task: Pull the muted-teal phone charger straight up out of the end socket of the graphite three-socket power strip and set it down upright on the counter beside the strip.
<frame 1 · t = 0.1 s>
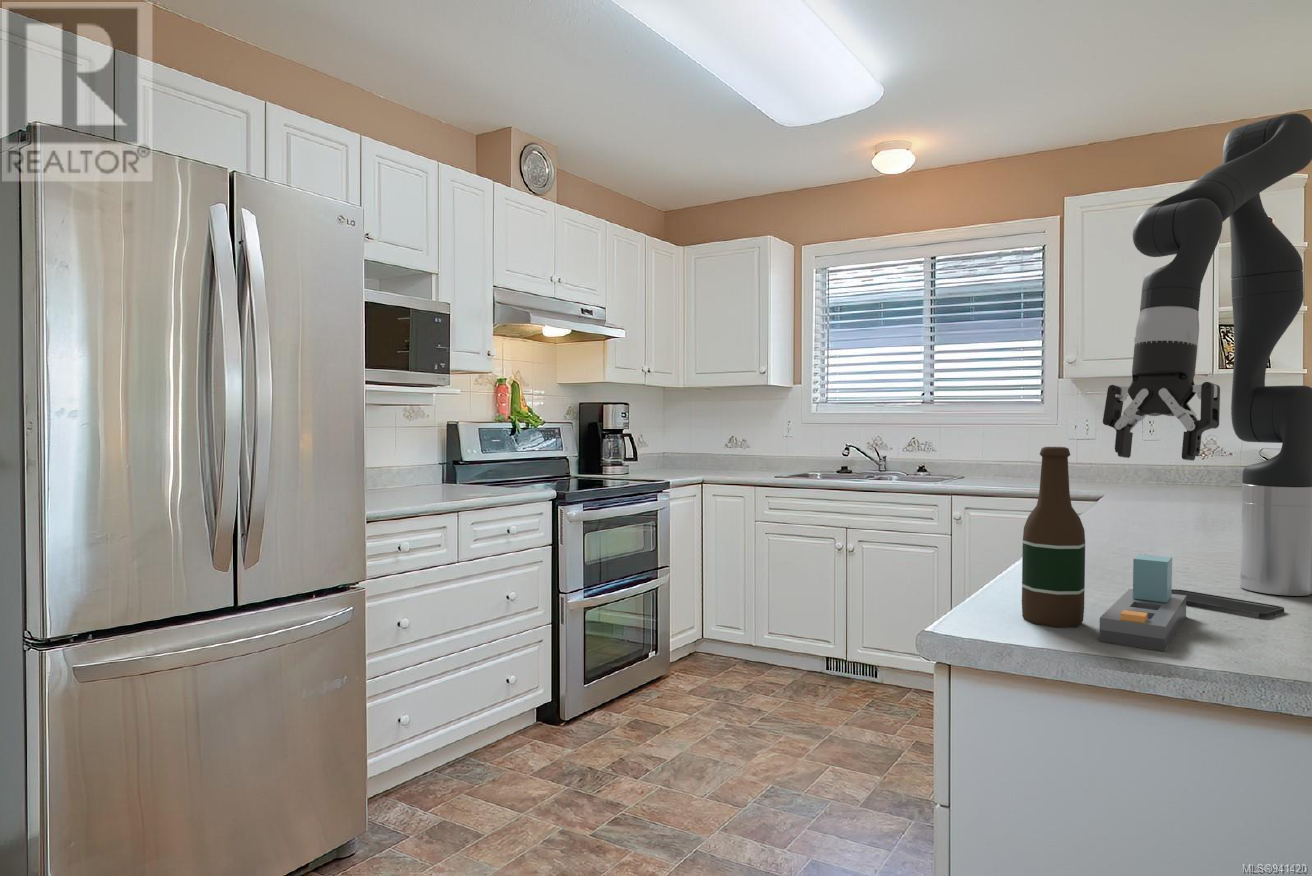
hand: (1154, 458, 112), 22 cm above the counter, tool pointing down, fingers open, 8 cm apart
power strip: (1145, 628, 107), on the counter
charger: (1152, 608, 112), point 1 cm above the counter, touching power strip
phone: (1215, 609, 121), on the counter
beer bottle: (1052, 622, 111), on the counter
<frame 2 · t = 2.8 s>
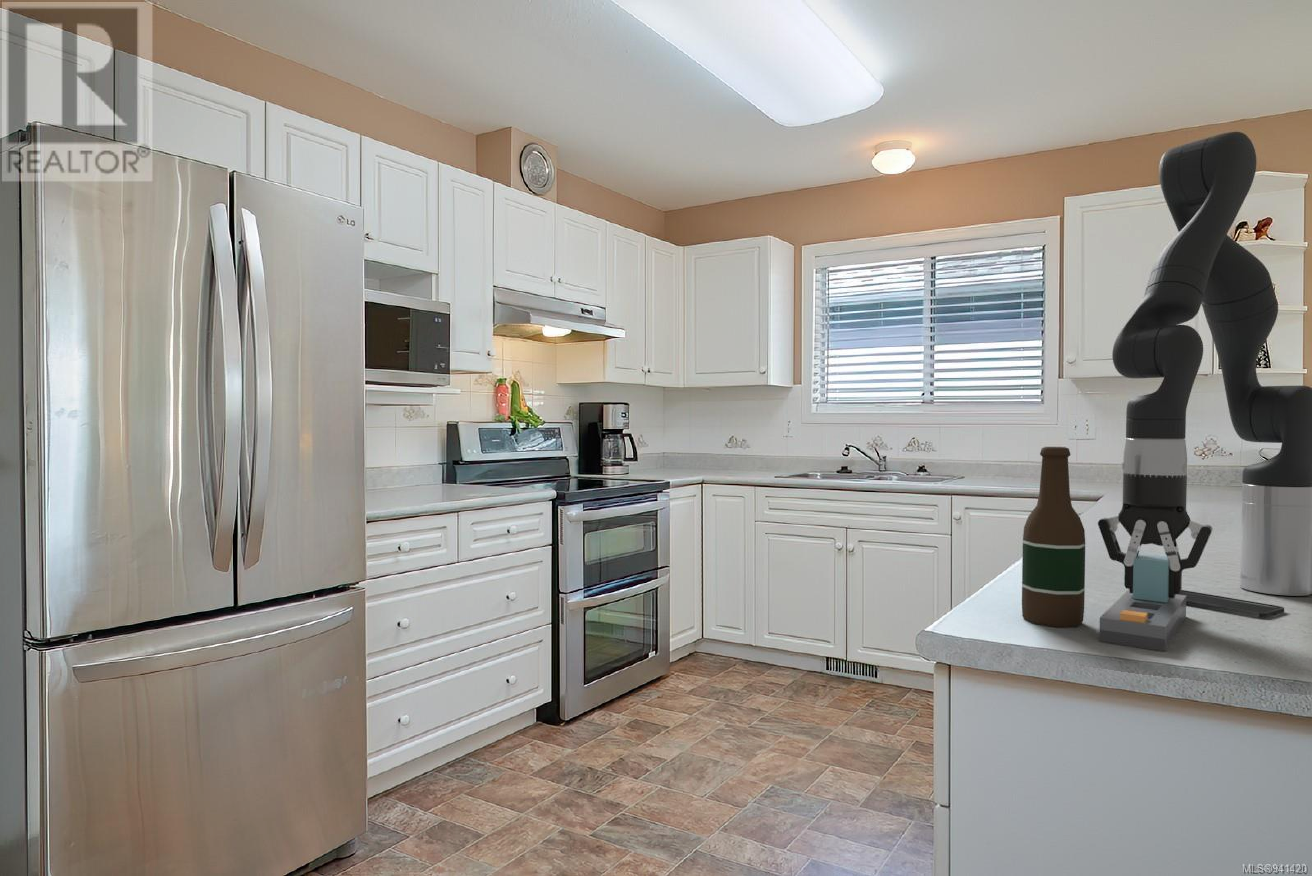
hand: (1152, 594, 112), 4 cm above the counter, tool pointing down, fingers closed on charger, 4 cm apart
charger: (1152, 608, 112), point 2 cm above the counter, touching gripper, power strip
everything else where it was.
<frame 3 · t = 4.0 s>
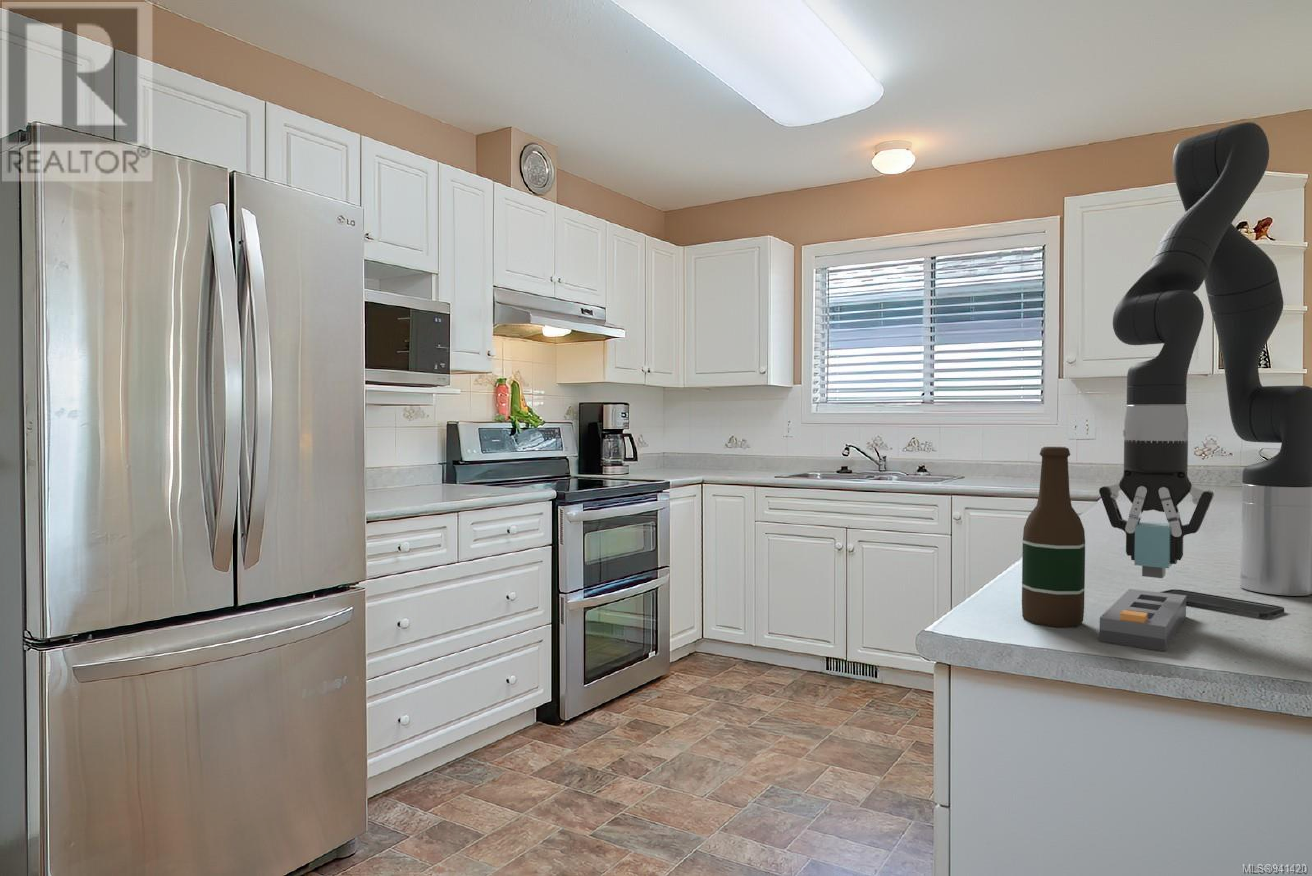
hand: (1153, 560, 112), 8 cm above the counter, tool pointing down, fingers closed on charger, 4 cm apart
charger: (1153, 575, 112), point 6 cm above the counter, touching gripper
everything else where it was.
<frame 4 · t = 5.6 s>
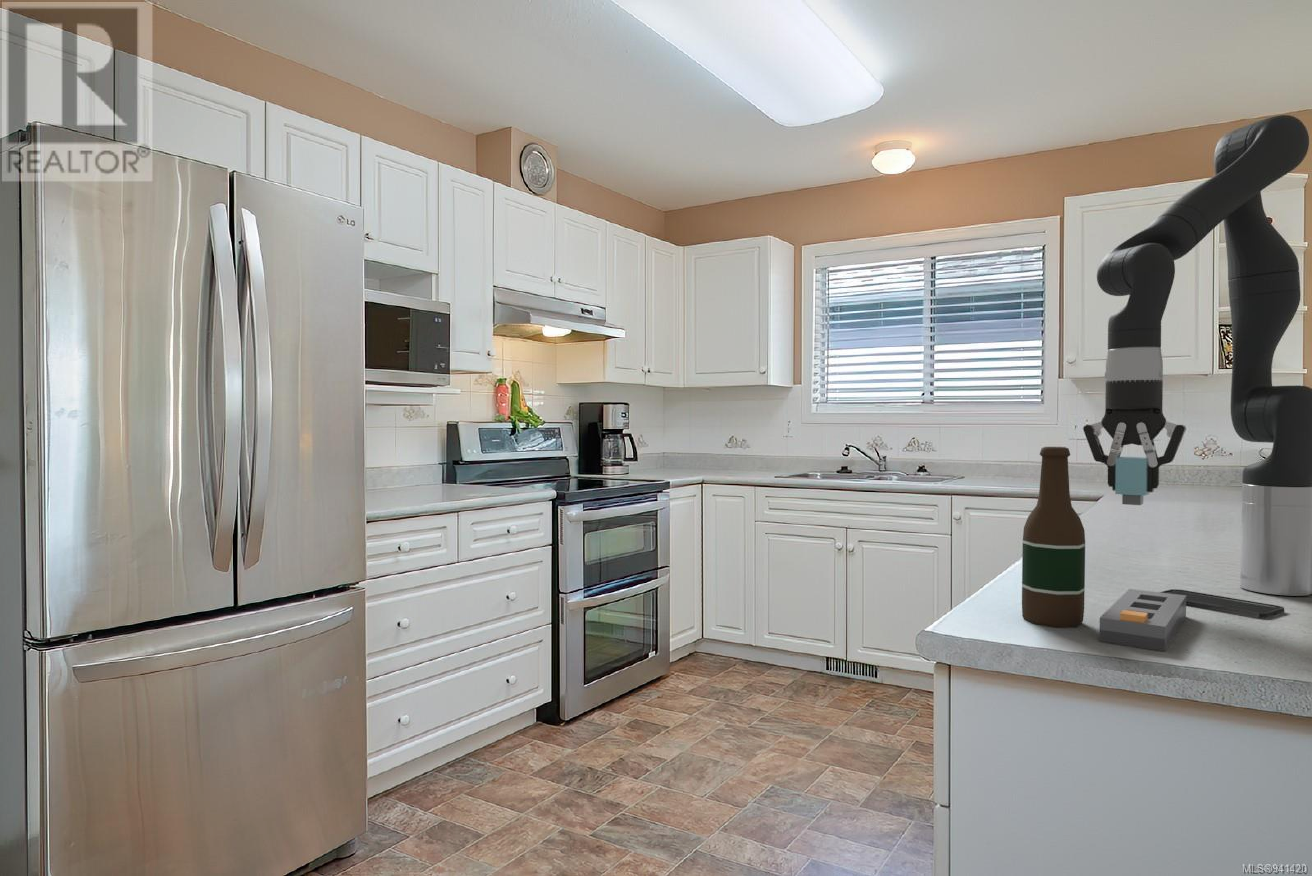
hand: (1132, 490, 124), 17 cm above the counter, tool pointing down, fingers closed on charger, 4 cm apart
charger: (1132, 503, 124), point 15 cm above the counter, touching gripper
everything else where it was.
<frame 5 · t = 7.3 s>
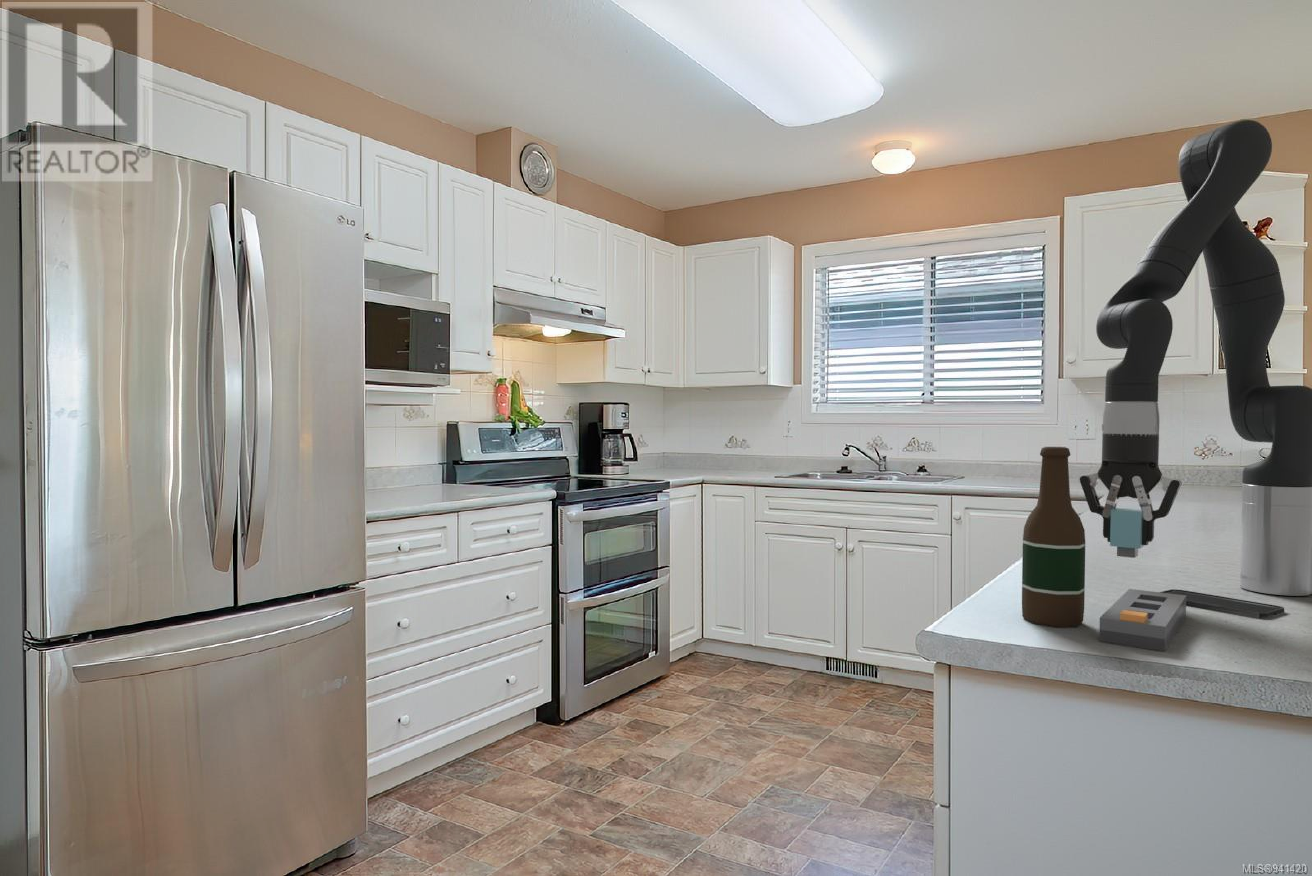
hand: (1127, 542, 124), 9 cm above the counter, tool pointing down, fingers closed on charger, 4 cm apart
charger: (1127, 555, 124), point 7 cm above the counter, touching gripper
everything else where it was.
when the fingers open (3 cm above the counter, at t = 8.7 s): charger drops 1 cm, on the counter.
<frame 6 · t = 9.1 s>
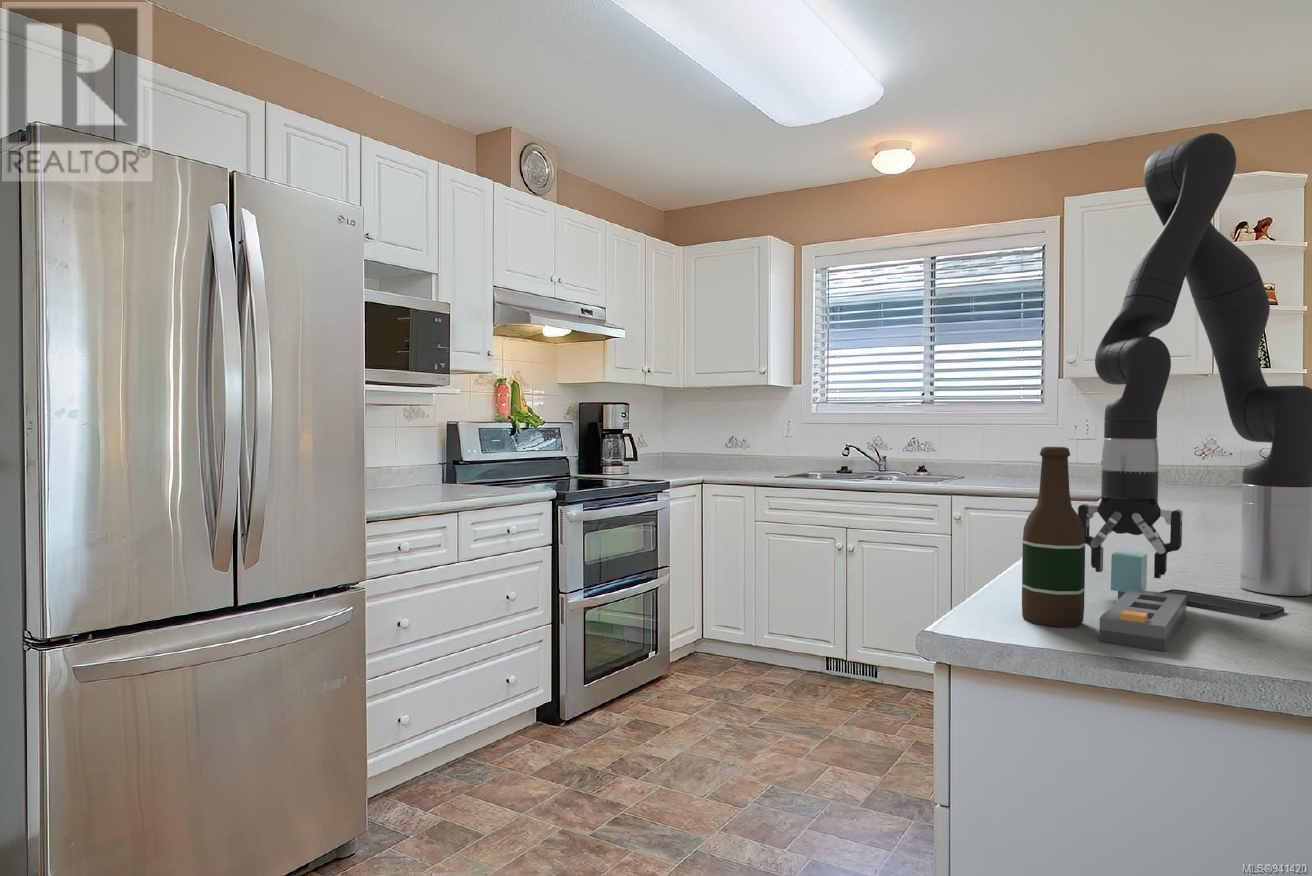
hand: (1127, 574, 124), 4 cm above the counter, tool pointing down, fingers open, 7 cm apart
charger: (1128, 599, 124), on the counter
everything else where it was.
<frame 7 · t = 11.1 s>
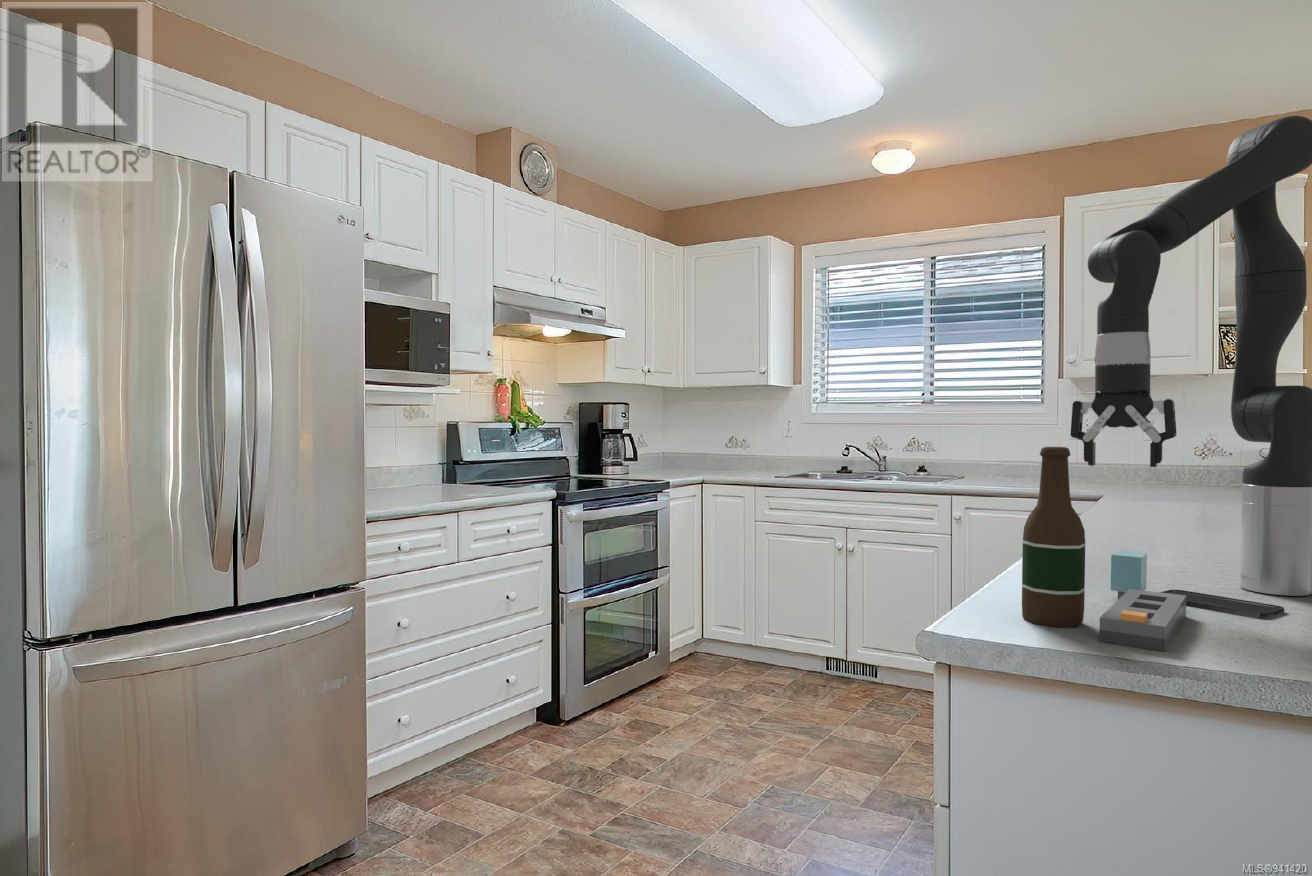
hand: (1121, 466, 127), 20 cm above the counter, tool pointing down, fingers open, 8 cm apart
nothing on the counter moved.
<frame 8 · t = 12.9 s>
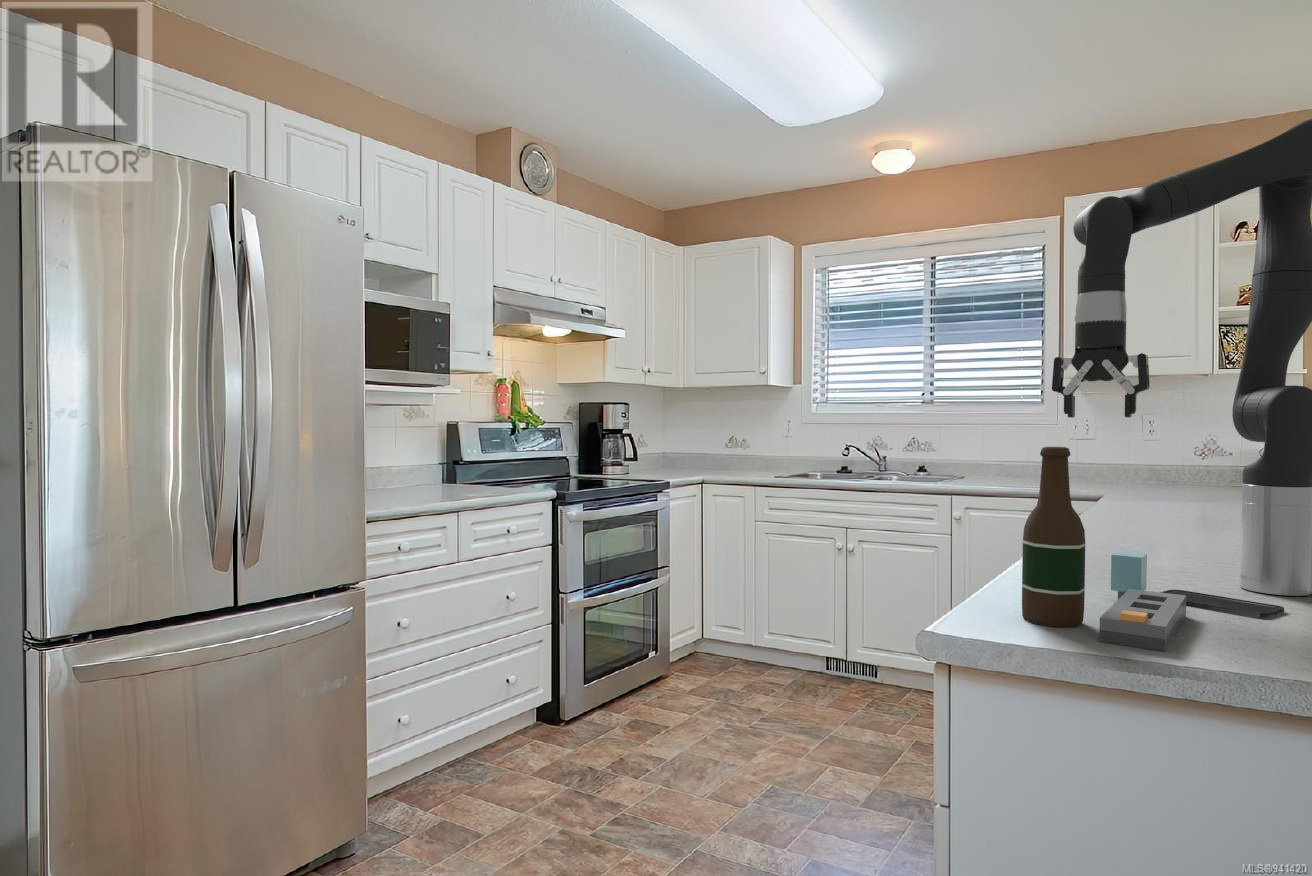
hand: (1098, 417, 136), 28 cm above the counter, tool pointing down, fingers open, 8 cm apart
nothing on the counter moved.
at the end: charger inside the target area (0.1 cm from its centre), on the counter; charger tilted 0°; charger touching counter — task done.
